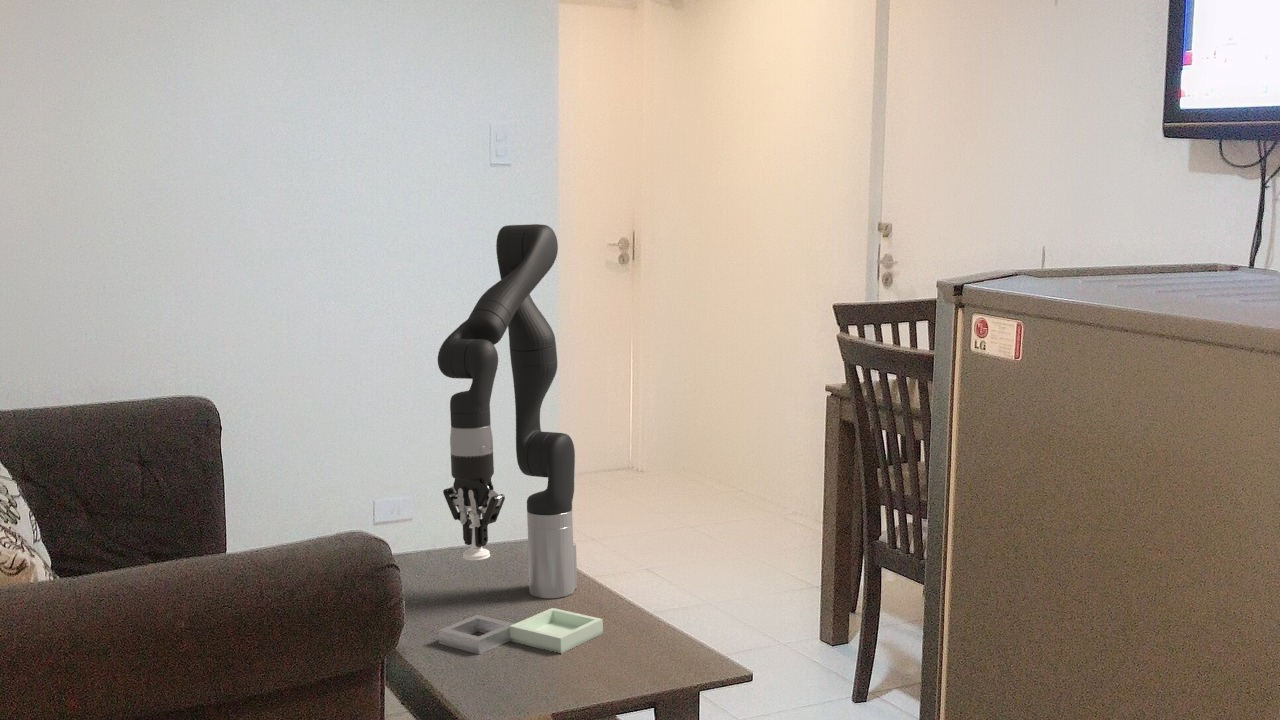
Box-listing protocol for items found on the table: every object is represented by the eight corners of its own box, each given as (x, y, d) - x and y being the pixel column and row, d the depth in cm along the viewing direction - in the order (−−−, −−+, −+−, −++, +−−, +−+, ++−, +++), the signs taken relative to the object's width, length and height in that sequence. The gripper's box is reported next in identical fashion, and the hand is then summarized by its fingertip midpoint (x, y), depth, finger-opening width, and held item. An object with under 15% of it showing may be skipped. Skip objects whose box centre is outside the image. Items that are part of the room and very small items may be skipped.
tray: (552, 622, 219) (552, 607, 219) (603, 633, 212) (602, 619, 212) (510, 640, 209) (509, 625, 209) (561, 653, 202) (560, 638, 202)
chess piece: (485, 560, 205) (482, 506, 204) (458, 560, 206) (455, 505, 205) (493, 552, 210) (491, 499, 209) (468, 552, 211) (465, 498, 210)
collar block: (477, 627, 217) (477, 614, 217) (517, 637, 211) (517, 624, 211) (439, 643, 209) (438, 630, 208) (479, 654, 203) (478, 640, 203)
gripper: (514, 450, 205) (518, 545, 207) (458, 443, 213) (462, 535, 215) (485, 458, 199) (489, 555, 201) (429, 450, 207) (433, 544, 209)
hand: (475, 544), depth 208 cm, fingers closed on chess piece
